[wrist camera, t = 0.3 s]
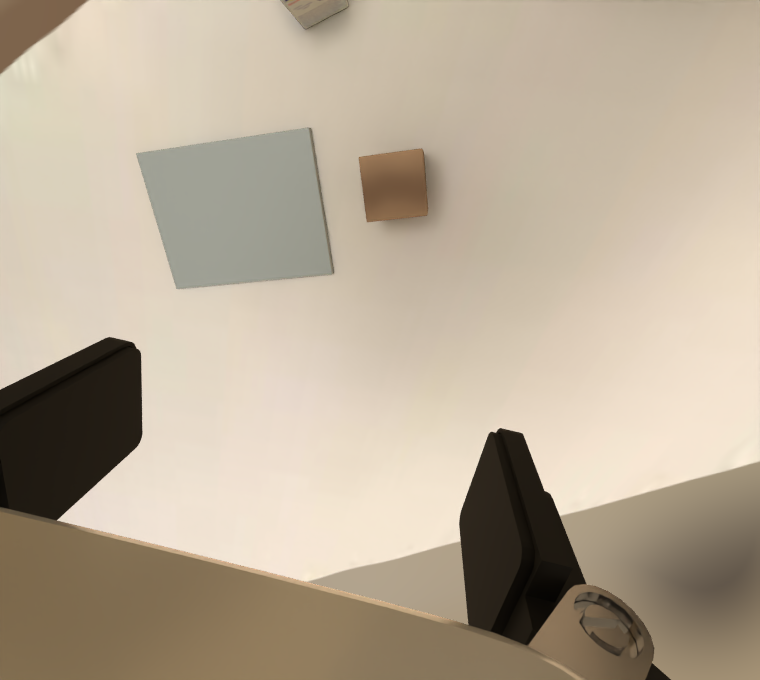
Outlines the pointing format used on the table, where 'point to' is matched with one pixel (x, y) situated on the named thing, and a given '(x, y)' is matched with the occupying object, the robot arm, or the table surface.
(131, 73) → the table surface
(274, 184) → the slate board
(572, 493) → the table surface
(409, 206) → the walnut block
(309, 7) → the medicine box
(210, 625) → the robot arm
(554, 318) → the table surface
